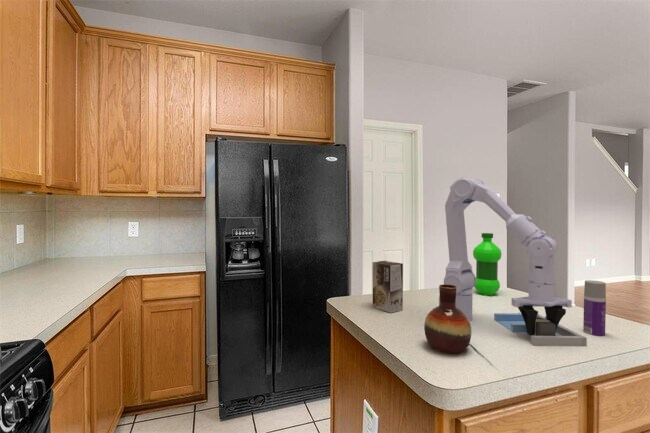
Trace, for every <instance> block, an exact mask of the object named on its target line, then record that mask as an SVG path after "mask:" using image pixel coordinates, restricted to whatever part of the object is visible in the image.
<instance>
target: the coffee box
mask: <svg viewBox="0 0 650 433" xmlns="http://www.w3.org/2000/svg"><path fill="white" fill-rule="evenodd" d="M371 269H372V308H374V309H377V310H381V311H383V312H387V313H389V314H391V313H396V312H400V311H401V312H402V311H403V309H404V305H403V304H404V303H403V302H404V300H403V299H404V292H403V291H404V290H403V288H404V284H403V283H404V263H400V262H395V261H390V260H389V261H388V260H380V261H379V260H378V261H373V262H372V268H371Z"/></svg>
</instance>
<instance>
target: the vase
mask: <svg viewBox="0 0 650 433" xmlns="http://www.w3.org/2000/svg"><path fill="white" fill-rule="evenodd" d="M438 287H439V288H438V289H439V290H438V291H439V295H440V305H439V304H438V306H435V307H434V308H432V309H430V311H429V312H428V313H427V315H426V317H425V320H424V325H423V327H424V329H423V330H424V336H425V339H426V341H427V343H428V344H429V346H430V347H431V349H433V350H435V351H437V352H440V353H443V354H449V355H451V354H452V355H455V354H457V355H458V354H460V353H463V352H465V351H466V350H467V349H468V347H469V344H470V343H471V339H472V326H471V321H470V322H469V320H468V318H467V316H466V315H465V314H464V313H463V312H462V311H461V310H460V309H458V308H456V290H457V287H456V286H454V285H447V284H444V283H443V284H440V285H438Z"/></svg>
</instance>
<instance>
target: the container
mask: <svg viewBox="0 0 650 433" xmlns="http://www.w3.org/2000/svg"><path fill="white" fill-rule="evenodd" d="M606 285H607V284H606V282H604V281H600V280H591V279H589V280H584V287H583V289H584V290H583V293H584V294H583V326H582V327H583V328H582V331H583V333H585V334H587V335H591V336H595V337H606V320H607V319H606V318H607V317H606V314H607V312H606V310H607V296H606V295H607V291H606V290H607V289H606V288H607V287H606Z"/></svg>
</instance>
